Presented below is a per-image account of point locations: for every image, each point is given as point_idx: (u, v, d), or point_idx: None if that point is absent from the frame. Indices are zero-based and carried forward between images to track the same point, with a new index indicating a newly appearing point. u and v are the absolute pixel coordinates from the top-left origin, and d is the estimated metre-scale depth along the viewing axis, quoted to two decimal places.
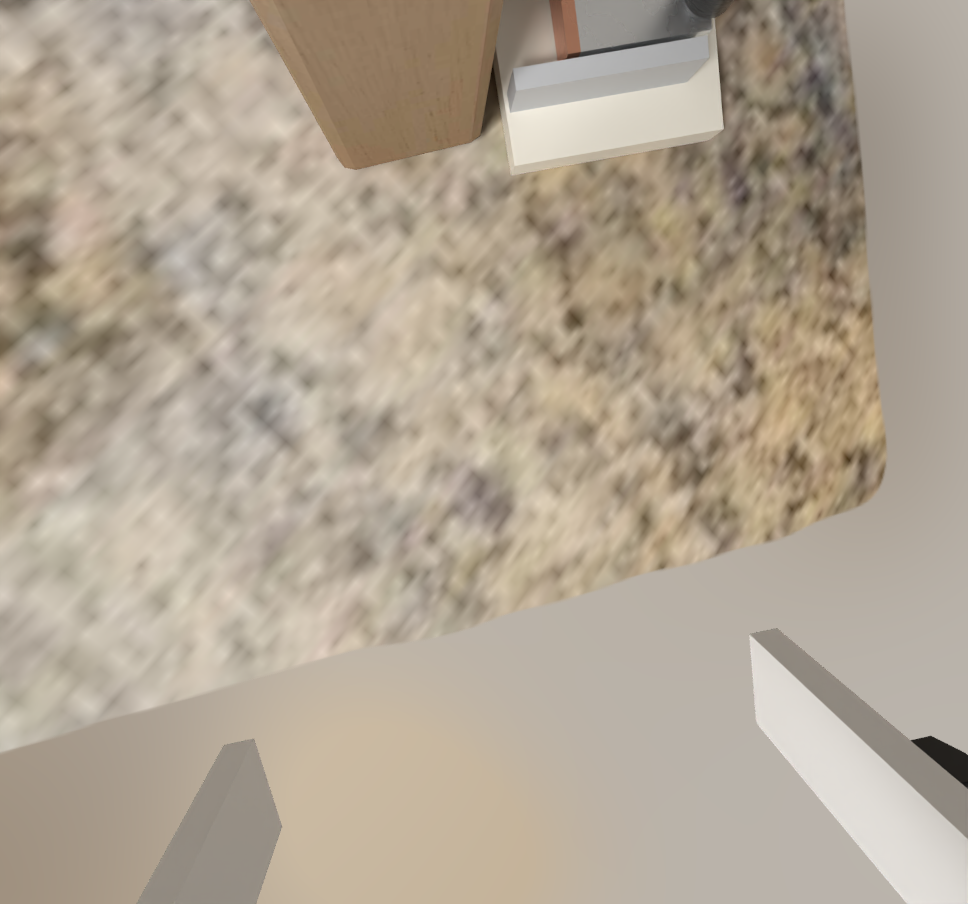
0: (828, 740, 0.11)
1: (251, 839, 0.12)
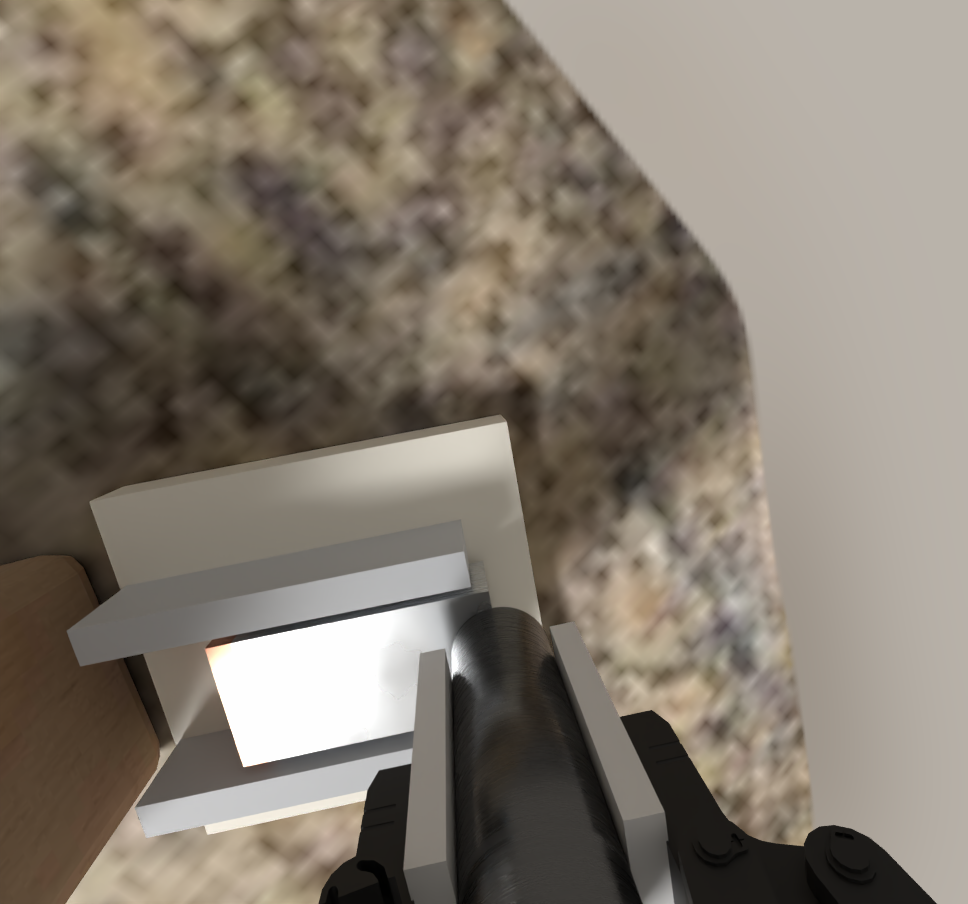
0: (576, 714, 0.13)
1: None
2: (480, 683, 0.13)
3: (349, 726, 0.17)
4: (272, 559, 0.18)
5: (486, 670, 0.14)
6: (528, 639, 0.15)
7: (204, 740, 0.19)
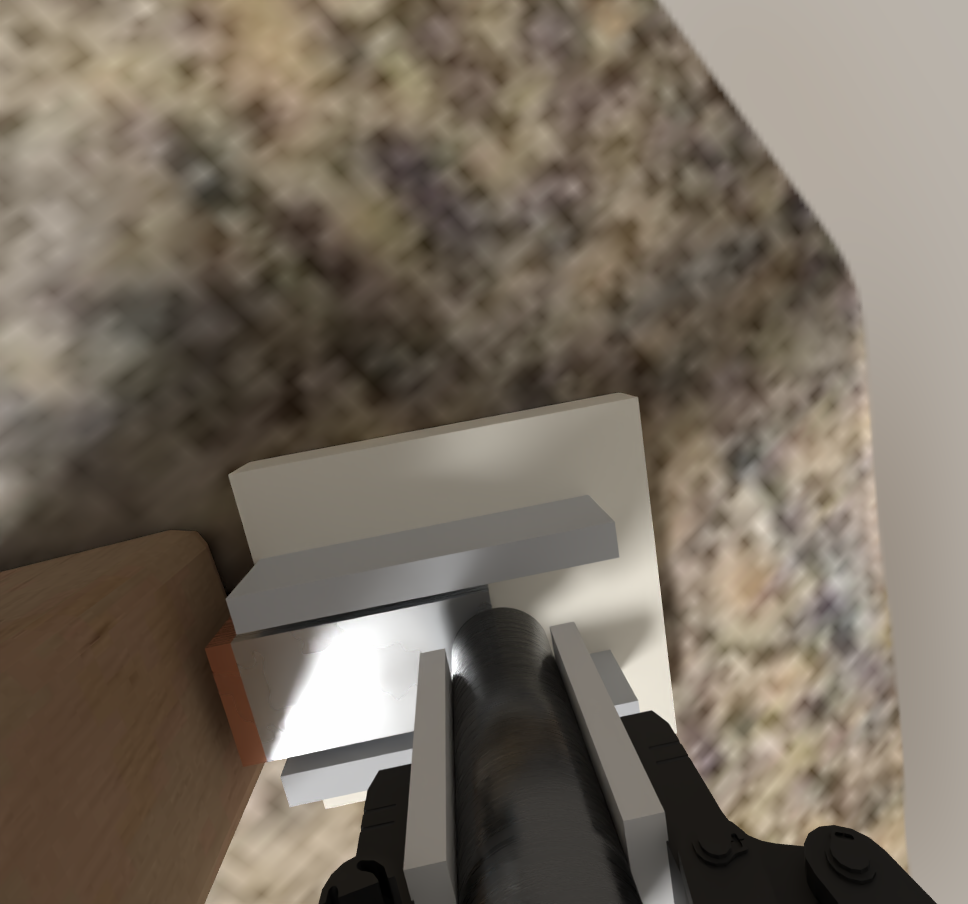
0: (576, 714, 0.13)
1: None
2: (480, 684, 0.13)
3: (349, 726, 0.17)
4: (405, 533, 0.18)
5: (486, 670, 0.14)
6: (528, 640, 0.15)
7: None
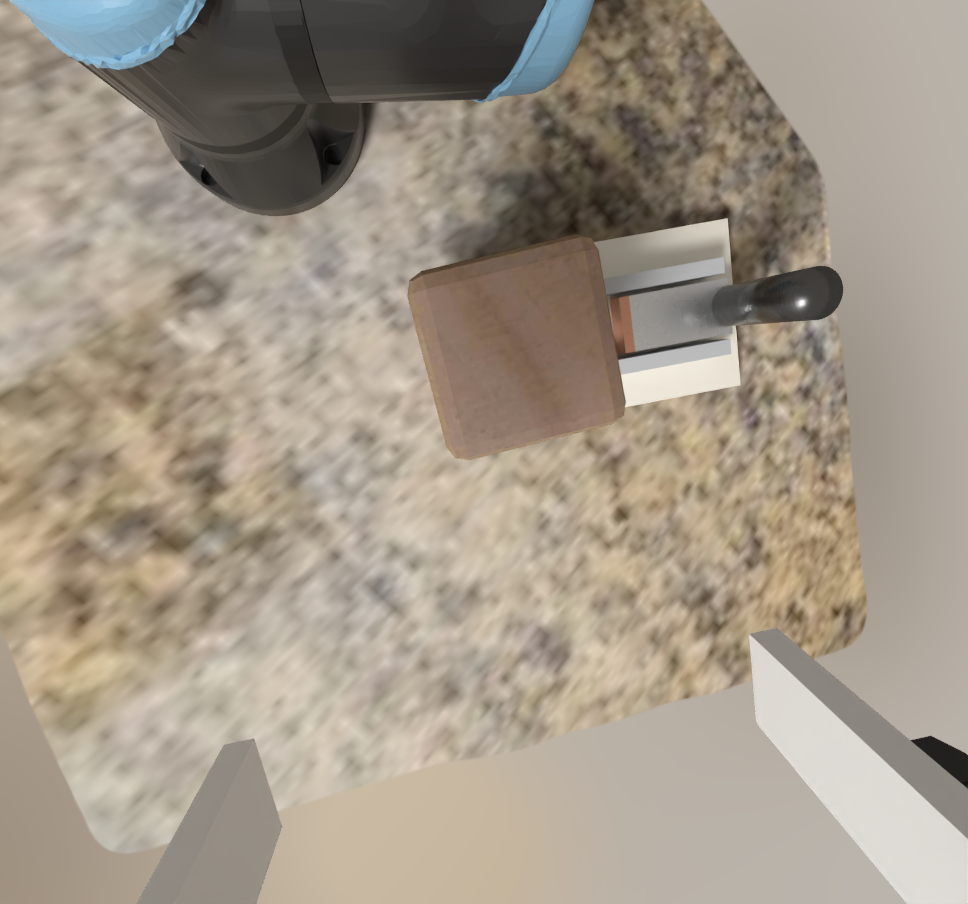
0: (828, 739, 0.11)
1: (251, 839, 0.12)
2: (745, 283, 0.38)
3: (668, 336, 0.42)
4: None
5: (745, 282, 0.39)
6: None
7: None
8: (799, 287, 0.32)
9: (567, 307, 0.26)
